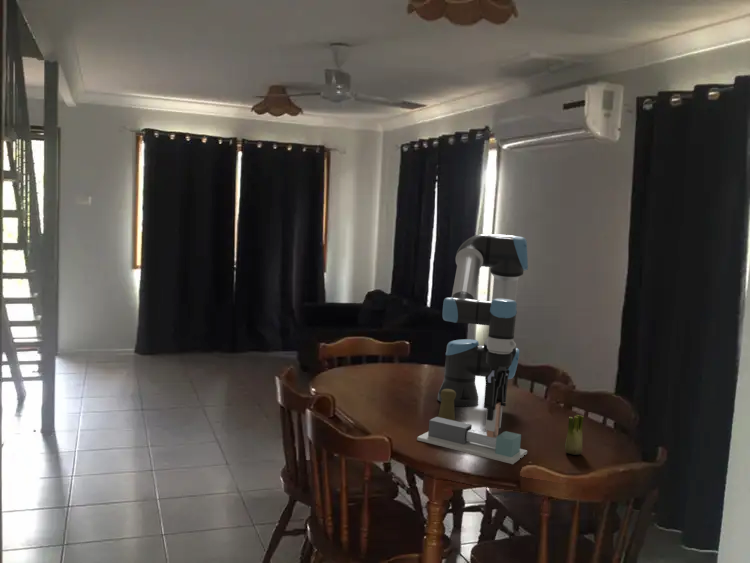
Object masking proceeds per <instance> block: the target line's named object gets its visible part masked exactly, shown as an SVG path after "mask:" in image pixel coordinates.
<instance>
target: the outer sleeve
mask: <svg viewBox="0 0 750 563" xmlns="http://www.w3.org/2000/svg"><path fill="white" fill-rule="evenodd" d="M428 421H429V422H428V431H429V432H428V431H427V432H428V436H431V437H435V438H439V439H443V440H447V441H451V442H456V443H460V444H465V443H467V442H469V441H465V433H466V429H468V428H470V429H472V426H473V425H472V424H471V423H466V422H462V421H457V420H455V421H453V420H449V419H445V418H440V417H438V416H435V417H433V418H431V419H429V420H428Z"/></svg>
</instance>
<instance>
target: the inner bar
mask: <svg viewBox="0 0 750 563" xmlns="http://www.w3.org/2000/svg"><path fill="white" fill-rule="evenodd" d="M500 406H501V402H498V401H496V407H495V409H496V422H495V431H494V432H493V431H489V430H486V431H482V430H477V429H474V428H471V429H470V428H468V429H466V433H465V441H469V442H474V443H478V444H482V445H486V446H490V447H494V448H496V439H497V436H498V435H499V429H500V428H499V417H500Z"/></svg>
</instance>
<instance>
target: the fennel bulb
mask: <svg viewBox="0 0 750 563" xmlns="http://www.w3.org/2000/svg"><path fill="white" fill-rule="evenodd" d="M584 418H585V416H584V415H581V414H575V415H574V418H573V417H572V416H569V417H568V425H567V426H568V427H567V434H566V439H565V445H564V451H565V452H566V453H567V454H569V455H572V456H573V455H574V456H580V455H582V453H583V442H584V441H583V424H584V420H585V419H584Z"/></svg>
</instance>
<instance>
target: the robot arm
mask: <svg viewBox="0 0 750 563" xmlns="http://www.w3.org/2000/svg"><path fill="white" fill-rule="evenodd" d="M528 261H529V260H528V242H527V238H526V237H523V236H517V235H510V234H507V235H506V234H495V233H494V234H491V233H480V234H475V235H473V236H471V237H468V239H466V240H464V241H463V243H462V244H460V246H459V248H458V250H457V251H456V254H455V264H456V271H455V277H454V280H453V281H454V283H453V287H452V293H451V296H450V297H445V298H444V299H443V303H442V304H443V305H442V319H443V321H445V322H451V323H454V324H456V323H457V324H458V323H460V324H470V325H479V326H488V334H487V338H486V339H485V340H484V341H483V342H484V343H483V344H480V343H479V340H476V339H472V338H471V339H470V338H468V339H467V338H465V339H456V340H454V339H453V340H451V341H449V342H448V343H447V345H446V350H445V351H446V352H445V362H444V363H445V364H444V375H443V380H442V383H441V386H440V388H439V390H438V394H437V401H439V402H440V403H441V401H442V398H441V391H442V390H443V389H452V390H454V391H455V392H456V397H455V399H454V407H474V406H477V405H478V403H479V393H478V391H477V387H476V377H483V378H484V379H485V380H484V381H485V388H484V400H483V401H484V402H483V403H484V404H483V408H484V409H486V414H485V426H484V428H485V429H484V431H485V430H486V431H487V430H489V431H493V432H494V431H495V422H496V409H495V407H496V401H498V402H501V406H500V417H499V429H501V425H502V418H503V416H502V415H503V407H506V406H507V403H506V402H507V393H508V385H509V384H508V382H509V380H511V379H513V378H514V377H515V376H516V371H517V369H518V368H517V367H518V365H519V359H520V353H521V352H520V349H519V348H518V347H517V343H516V342H515V341H514V339H515V329H516V328H515V327H516V320H517V313H518V312H517V305H518V304H517V297H518V286H519V279H520V278H521V277H522V276H524V271H527V270H528V269H529V265H528ZM482 267H486V268H489V269H490V270H489V272H490V274H491V275H492V276H493V284H492V285H493V286H492V287H493V288H492V297H491V300H480V299H476V296H477V291H478V290H477V289H478V280H479V276H480V275H479V274H480V269H481V268H482Z"/></svg>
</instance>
